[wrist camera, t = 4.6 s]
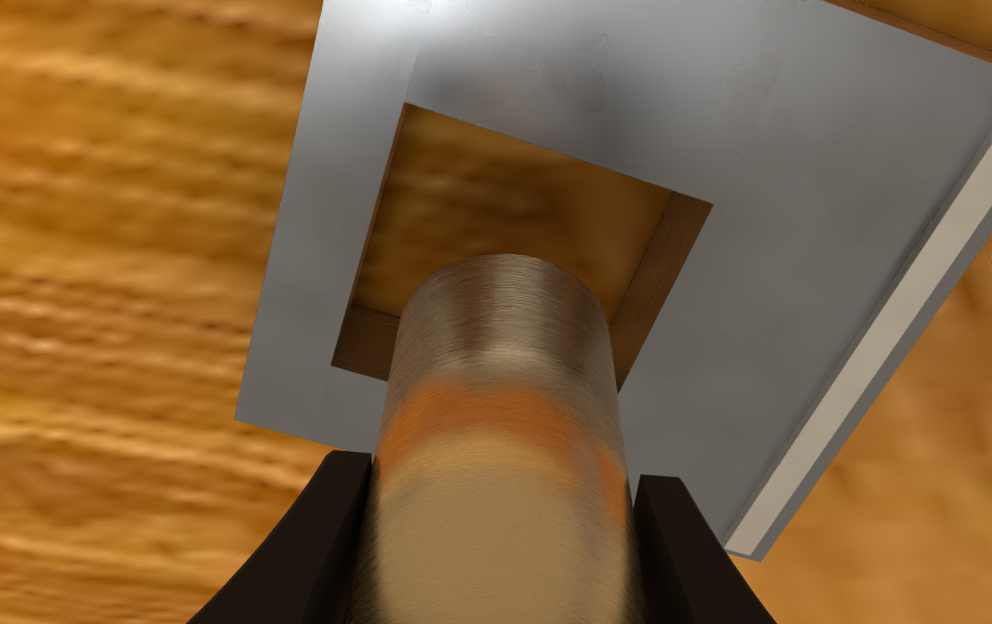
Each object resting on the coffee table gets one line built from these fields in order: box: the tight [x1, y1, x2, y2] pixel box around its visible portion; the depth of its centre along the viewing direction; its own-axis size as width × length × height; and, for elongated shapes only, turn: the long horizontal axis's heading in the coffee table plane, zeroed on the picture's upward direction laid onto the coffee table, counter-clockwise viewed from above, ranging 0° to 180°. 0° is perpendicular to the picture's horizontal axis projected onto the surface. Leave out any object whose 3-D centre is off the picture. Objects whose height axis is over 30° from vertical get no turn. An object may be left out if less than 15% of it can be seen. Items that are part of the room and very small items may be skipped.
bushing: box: [342, 254, 649, 624], centre depth 13 cm, size 4×4×8 cm
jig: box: [234, 0, 992, 562], centre depth 21 cm, size 15×14×3 cm
